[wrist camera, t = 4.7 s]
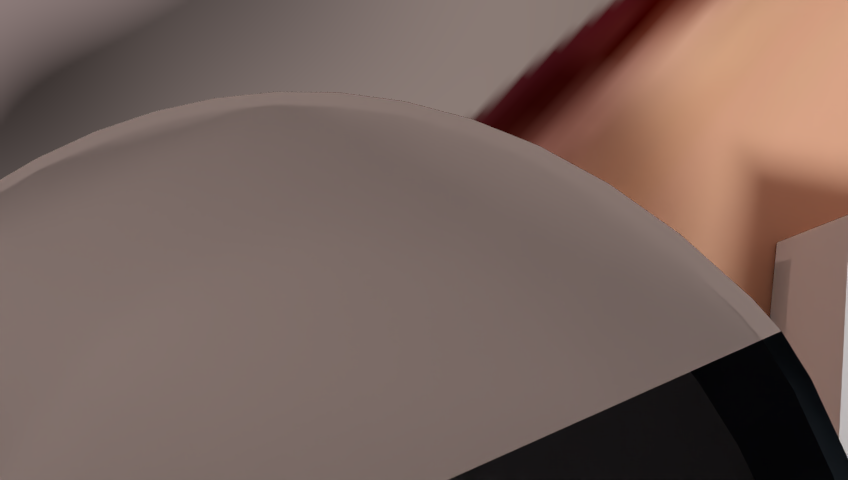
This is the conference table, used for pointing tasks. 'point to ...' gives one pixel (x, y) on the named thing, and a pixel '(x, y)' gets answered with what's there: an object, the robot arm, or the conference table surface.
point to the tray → (817, 311)
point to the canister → (372, 311)
